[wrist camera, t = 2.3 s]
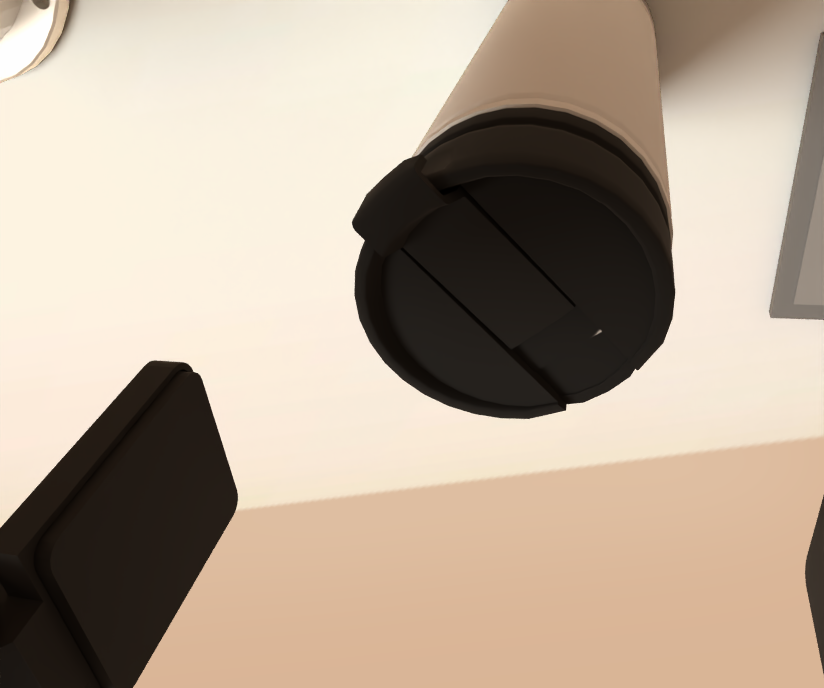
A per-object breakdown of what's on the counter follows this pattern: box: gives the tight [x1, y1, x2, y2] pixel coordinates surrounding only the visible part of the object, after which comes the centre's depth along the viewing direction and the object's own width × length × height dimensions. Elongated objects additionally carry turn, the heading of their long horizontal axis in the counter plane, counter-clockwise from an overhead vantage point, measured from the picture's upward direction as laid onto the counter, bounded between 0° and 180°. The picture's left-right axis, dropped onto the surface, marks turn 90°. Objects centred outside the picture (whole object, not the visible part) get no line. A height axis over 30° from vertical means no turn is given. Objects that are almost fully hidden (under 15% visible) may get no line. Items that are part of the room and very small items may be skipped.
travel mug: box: [352, 0, 675, 419], centre depth 22 cm, size 6×7×20 cm
